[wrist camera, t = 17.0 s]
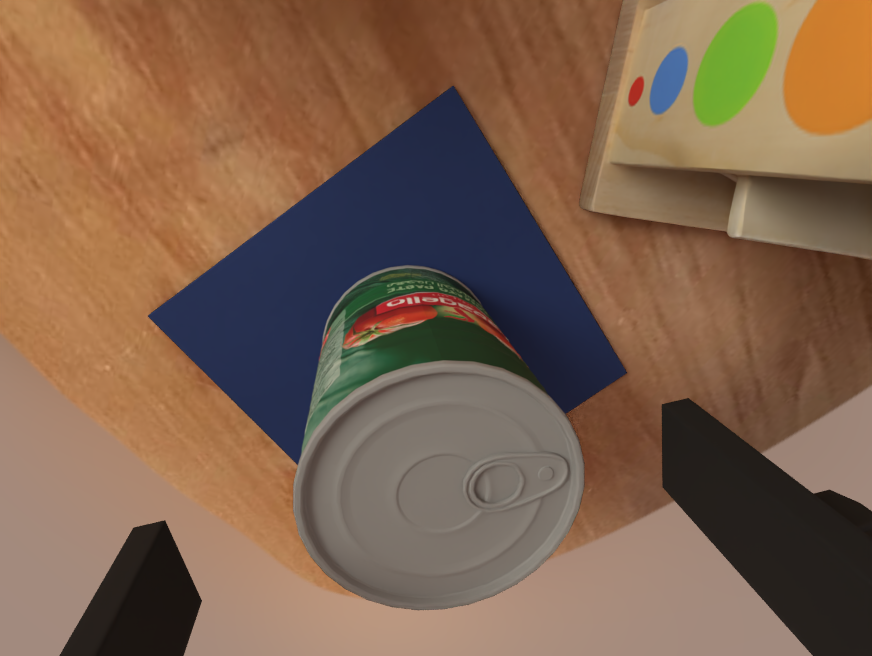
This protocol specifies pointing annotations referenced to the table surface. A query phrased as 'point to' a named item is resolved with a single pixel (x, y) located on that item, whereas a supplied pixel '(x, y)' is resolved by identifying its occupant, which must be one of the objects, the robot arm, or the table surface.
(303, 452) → the canned tomato
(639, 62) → the pounding bench toy
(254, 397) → the cloth
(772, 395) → the table surface
